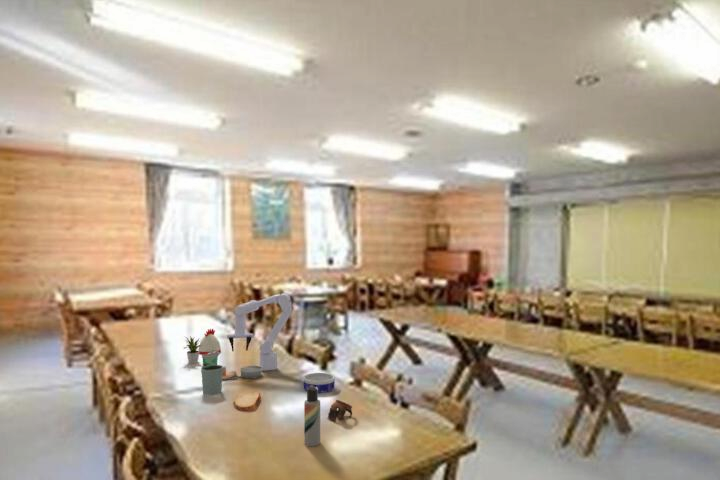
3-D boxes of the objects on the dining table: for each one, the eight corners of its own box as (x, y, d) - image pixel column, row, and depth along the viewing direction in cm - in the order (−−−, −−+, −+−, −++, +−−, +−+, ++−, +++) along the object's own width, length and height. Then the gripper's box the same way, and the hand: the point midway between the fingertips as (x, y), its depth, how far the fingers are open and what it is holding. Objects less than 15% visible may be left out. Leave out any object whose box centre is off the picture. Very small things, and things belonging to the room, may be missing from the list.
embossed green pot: (203, 396, 228) (203, 370, 228) (199, 390, 237) (199, 366, 237) (225, 393, 233) (225, 368, 233) (220, 387, 242) (220, 363, 242)
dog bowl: (339, 386, 246) (339, 374, 246) (327, 395, 231) (327, 382, 231) (311, 383, 251) (311, 371, 251) (298, 391, 236) (298, 379, 236)
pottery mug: (324, 417, 204) (332, 397, 207) (344, 426, 205) (352, 406, 208) (329, 419, 193) (338, 399, 195) (351, 429, 194) (359, 408, 196)
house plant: (173, 363, 289) (173, 336, 289) (189, 358, 302) (189, 332, 302) (192, 366, 284) (192, 337, 284) (208, 360, 297) (208, 333, 297)
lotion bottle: (311, 439, 180) (311, 384, 180) (323, 442, 177) (323, 386, 177) (301, 444, 175) (301, 388, 175) (313, 448, 172) (313, 390, 172)
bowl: (260, 372, 270) (260, 365, 270) (263, 377, 260) (263, 370, 260) (239, 374, 267) (239, 366, 267) (241, 379, 256) (241, 371, 256)
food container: (212, 373, 269) (212, 354, 269) (201, 372, 270) (201, 354, 270) (222, 367, 281) (222, 350, 281) (213, 366, 282) (213, 349, 282)
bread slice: (247, 413, 207) (247, 404, 207) (219, 405, 217) (219, 397, 217) (278, 402, 222) (278, 393, 222) (250, 395, 232) (250, 387, 232)
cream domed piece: (225, 351, 322) (225, 328, 322) (208, 355, 310) (208, 331, 310) (210, 348, 330) (210, 326, 330) (193, 352, 318) (193, 329, 318)
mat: (235, 372, 271) (235, 371, 271) (237, 379, 257) (237, 377, 257) (205, 374, 266) (205, 373, 266) (205, 381, 252) (205, 380, 252)
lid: (237, 373, 267) (237, 364, 267) (231, 379, 255) (231, 370, 255) (215, 372, 267) (215, 364, 267) (208, 379, 255) (208, 370, 255)
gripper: (252, 324, 283) (252, 348, 283) (226, 325, 279) (226, 349, 279) (253, 327, 277) (253, 351, 277) (227, 328, 272) (226, 352, 272)
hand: (239, 350), depth 277 cm, fingers open, 7 cm apart
